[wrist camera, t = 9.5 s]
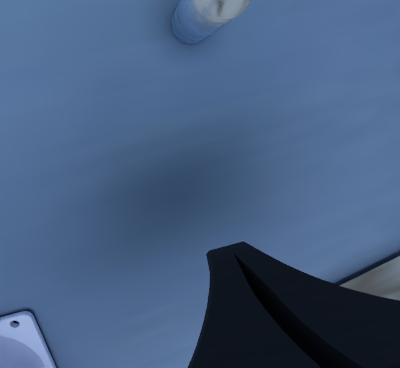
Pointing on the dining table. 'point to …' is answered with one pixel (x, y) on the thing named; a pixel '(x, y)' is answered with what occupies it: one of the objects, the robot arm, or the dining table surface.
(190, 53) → the dining table surface
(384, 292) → the gate
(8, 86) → the dining table surface
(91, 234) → the dining table surface
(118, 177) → the dining table surface
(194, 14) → the latch post
